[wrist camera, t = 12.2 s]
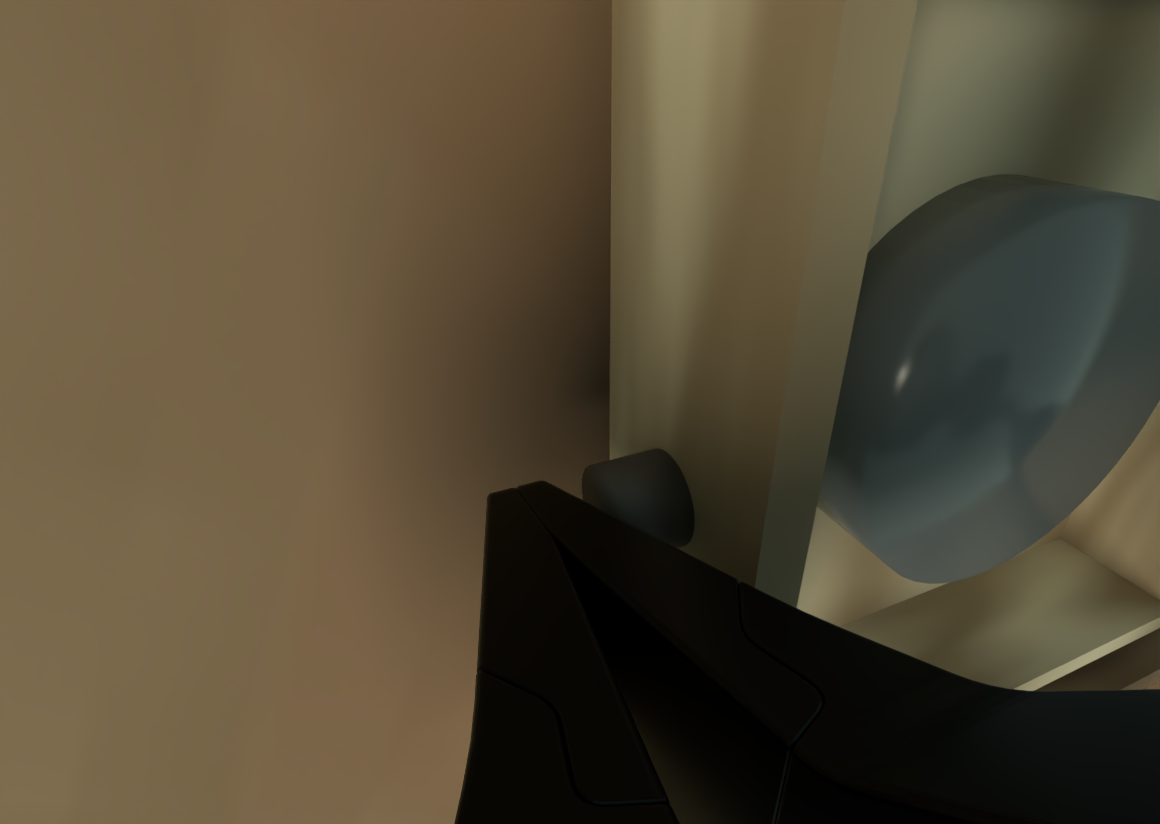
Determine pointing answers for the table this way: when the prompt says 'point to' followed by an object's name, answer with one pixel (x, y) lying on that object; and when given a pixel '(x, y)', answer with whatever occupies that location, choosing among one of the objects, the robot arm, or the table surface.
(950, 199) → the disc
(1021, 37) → the tray
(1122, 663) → the housing
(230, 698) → the table surface
